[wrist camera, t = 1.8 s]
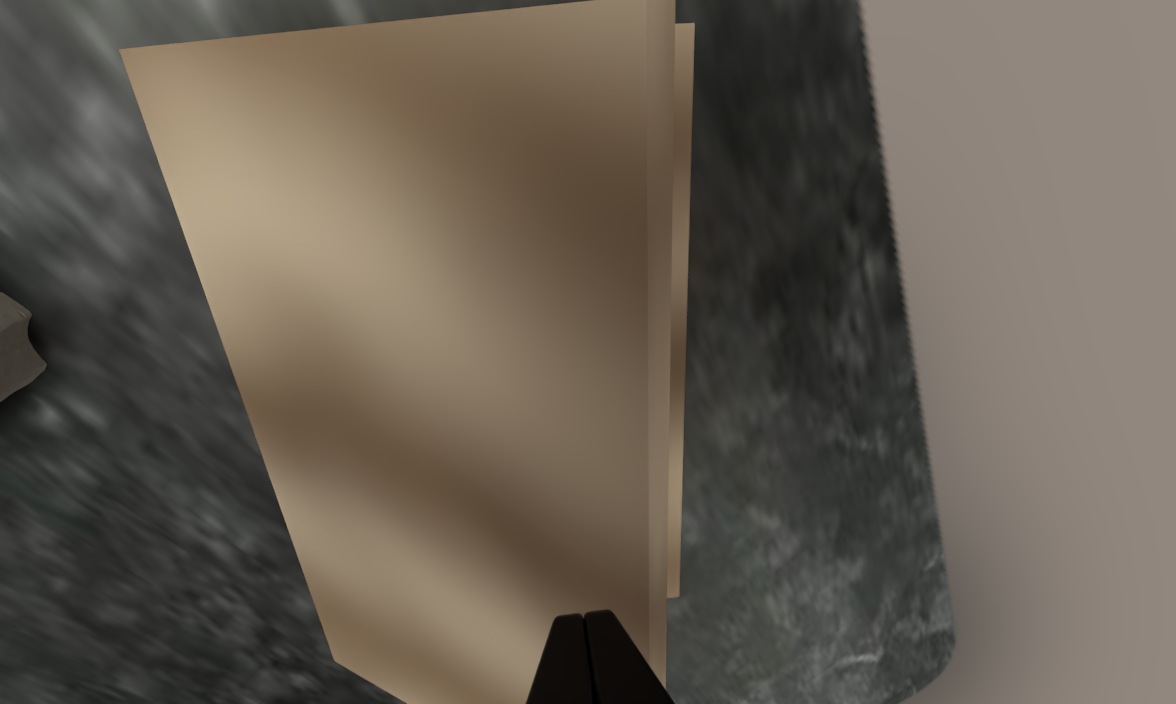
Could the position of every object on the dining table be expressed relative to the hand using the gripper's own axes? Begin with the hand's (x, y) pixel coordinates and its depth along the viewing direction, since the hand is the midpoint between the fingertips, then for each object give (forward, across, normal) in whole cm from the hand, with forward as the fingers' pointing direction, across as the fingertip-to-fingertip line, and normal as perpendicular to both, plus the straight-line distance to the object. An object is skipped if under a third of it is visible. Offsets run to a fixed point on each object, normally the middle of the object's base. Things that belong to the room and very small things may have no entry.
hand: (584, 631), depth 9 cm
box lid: (+4, +3, 0) cm, 5 cm away
